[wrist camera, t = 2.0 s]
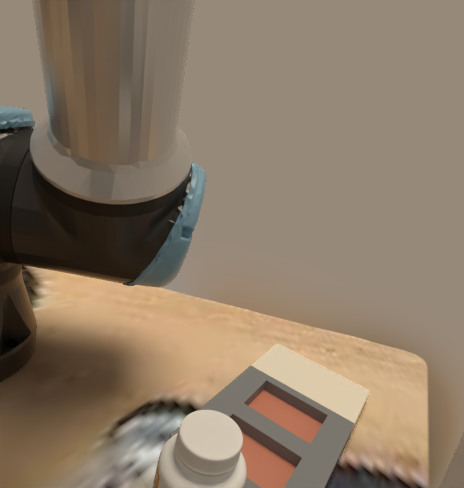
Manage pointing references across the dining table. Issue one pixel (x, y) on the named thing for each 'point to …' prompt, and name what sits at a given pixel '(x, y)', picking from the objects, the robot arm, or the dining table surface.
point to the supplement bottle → (203, 454)
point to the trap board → (290, 419)
